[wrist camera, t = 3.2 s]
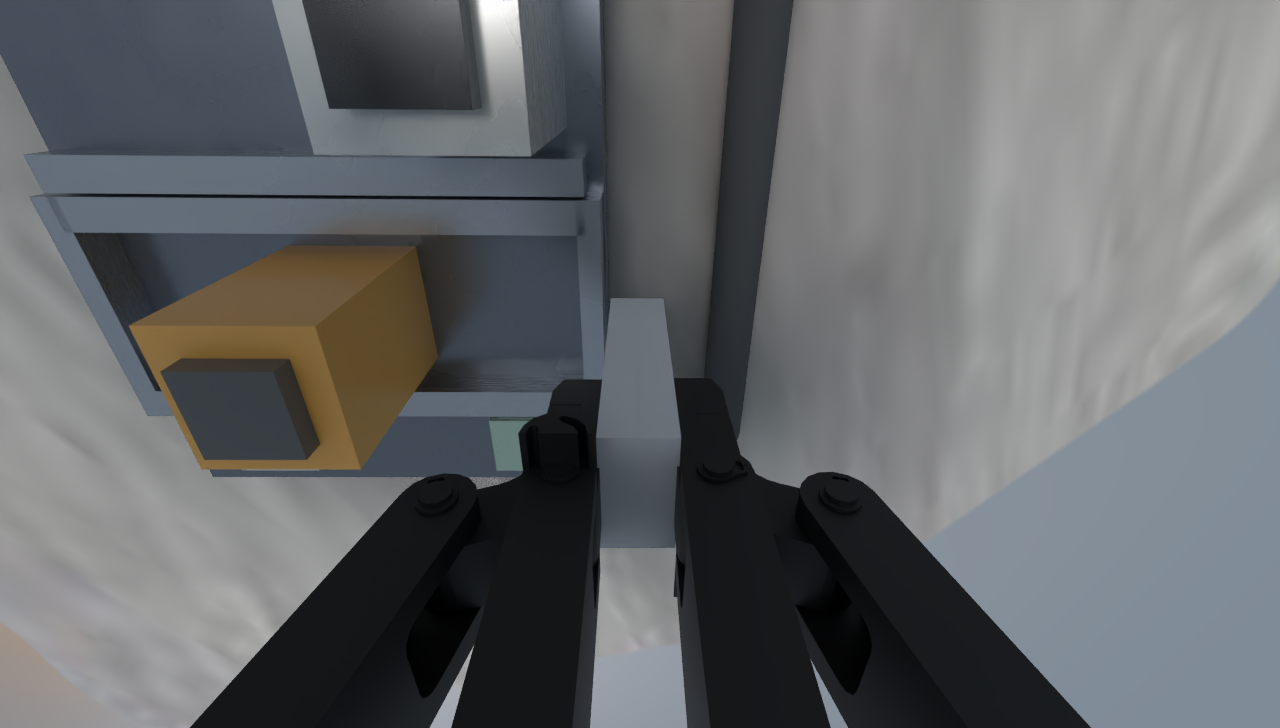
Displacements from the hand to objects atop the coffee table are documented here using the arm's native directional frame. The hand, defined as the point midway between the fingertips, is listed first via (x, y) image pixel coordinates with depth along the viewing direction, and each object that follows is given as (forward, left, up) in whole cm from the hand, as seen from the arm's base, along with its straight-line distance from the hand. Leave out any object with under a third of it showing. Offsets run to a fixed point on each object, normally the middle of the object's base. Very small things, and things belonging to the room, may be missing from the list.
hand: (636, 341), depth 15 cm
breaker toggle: (0, -9, -3) cm, 9 cm away
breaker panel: (-2, -9, -5) cm, 10 cm away
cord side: (-2, +3, -5) cm, 6 cm away
